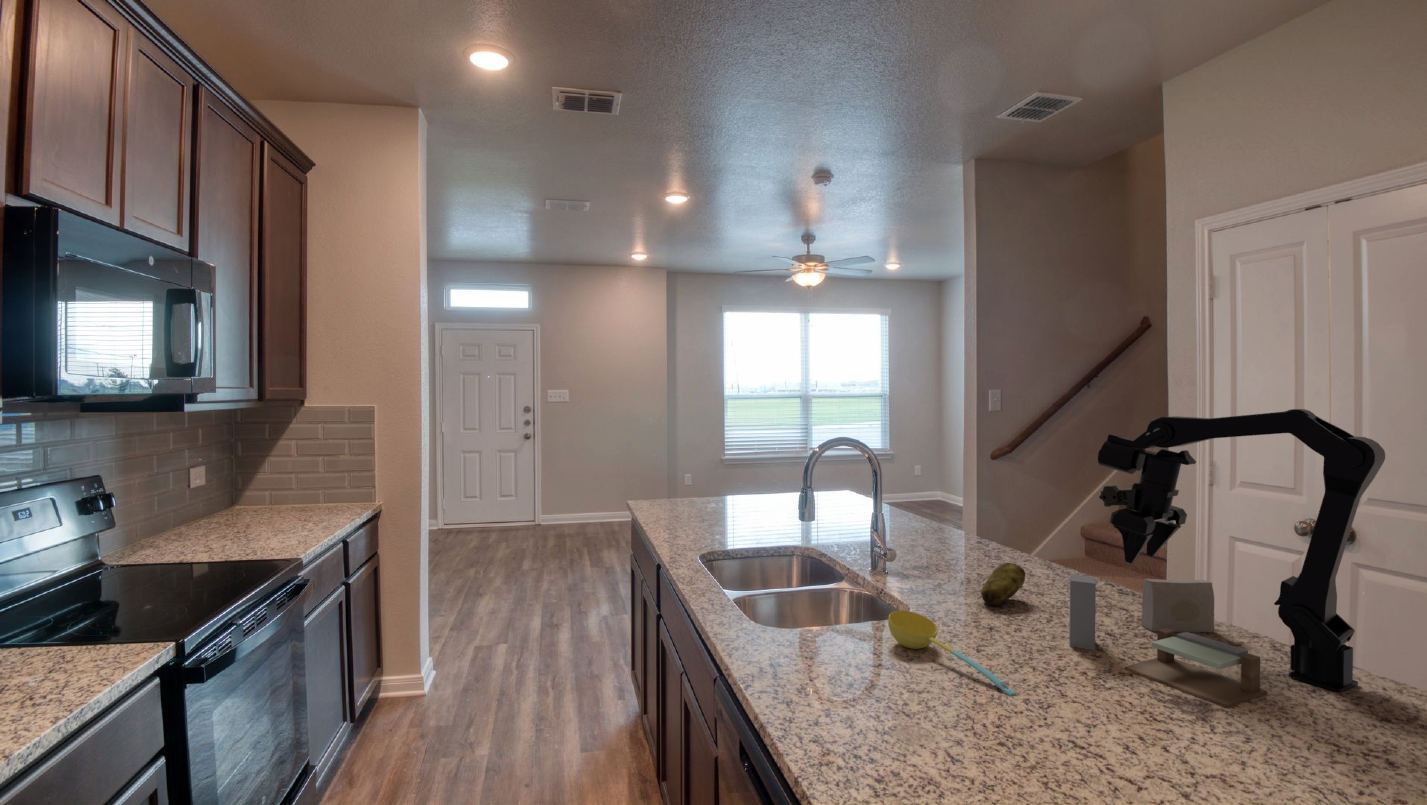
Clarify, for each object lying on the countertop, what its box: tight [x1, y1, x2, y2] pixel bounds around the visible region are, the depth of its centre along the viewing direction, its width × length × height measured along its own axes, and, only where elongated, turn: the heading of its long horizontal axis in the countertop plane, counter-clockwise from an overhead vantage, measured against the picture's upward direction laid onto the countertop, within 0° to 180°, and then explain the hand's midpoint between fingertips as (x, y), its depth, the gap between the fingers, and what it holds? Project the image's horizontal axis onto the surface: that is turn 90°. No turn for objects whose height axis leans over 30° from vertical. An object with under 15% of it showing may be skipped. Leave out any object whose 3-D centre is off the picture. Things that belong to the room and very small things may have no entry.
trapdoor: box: [1151, 632, 1249, 670], centre depth 106 cm, size 10×9×2 cm
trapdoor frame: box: [1124, 628, 1268, 709], centre depth 105 cm, size 15×11×6 cm
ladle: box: [887, 610, 1017, 697], centre depth 112 cm, size 9×26×6 cm, turn 26°
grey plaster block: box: [1140, 578, 1215, 633], centre depth 128 cm, size 12×4×10 cm, turn 89°
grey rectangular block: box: [1068, 573, 1097, 651], centre depth 121 cm, size 4×5×12 cm
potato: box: [980, 562, 1026, 606], centre depth 145 cm, size 8×13×8 cm, turn 112°
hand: (1139, 559), depth 127 cm, fingers open, 9 cm apart
